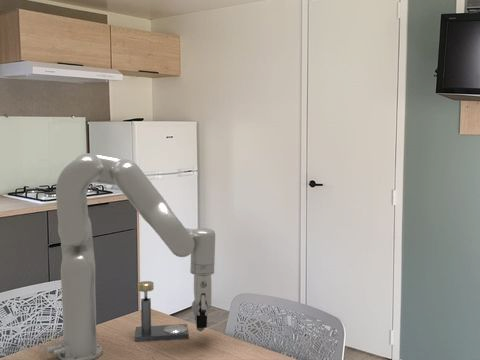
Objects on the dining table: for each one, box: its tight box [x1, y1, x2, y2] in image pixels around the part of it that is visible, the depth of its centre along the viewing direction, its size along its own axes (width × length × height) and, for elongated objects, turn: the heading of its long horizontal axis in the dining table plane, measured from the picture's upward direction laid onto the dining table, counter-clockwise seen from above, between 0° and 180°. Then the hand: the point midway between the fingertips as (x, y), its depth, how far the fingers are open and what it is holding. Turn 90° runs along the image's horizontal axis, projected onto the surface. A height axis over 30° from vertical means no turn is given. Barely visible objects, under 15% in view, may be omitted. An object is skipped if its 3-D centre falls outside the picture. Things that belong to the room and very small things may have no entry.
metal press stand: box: [134, 297, 190, 343], centre depth 174 cm, size 17×9×12 cm, turn 99°
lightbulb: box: [191, 299, 212, 332], centre depth 168 cm, size 6×6×11 cm
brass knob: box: [137, 280, 154, 301], centre depth 172 cm, size 5×5×6 cm
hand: (200, 323), depth 168 cm, fingers closed on lightbulb, 5 cm apart
